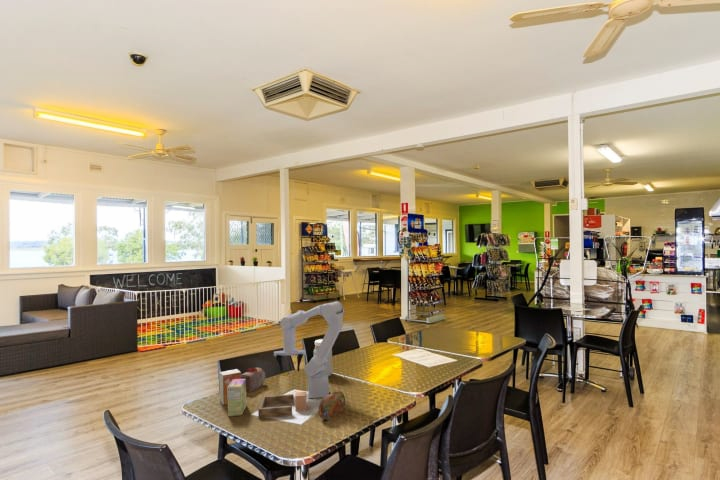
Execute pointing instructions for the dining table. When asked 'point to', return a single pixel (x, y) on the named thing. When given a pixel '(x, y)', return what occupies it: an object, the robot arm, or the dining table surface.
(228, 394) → the box
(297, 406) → the block
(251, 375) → the food item
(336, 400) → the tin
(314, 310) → the robot arm
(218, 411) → the dining table surface
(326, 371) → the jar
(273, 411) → the open box
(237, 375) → the small box
